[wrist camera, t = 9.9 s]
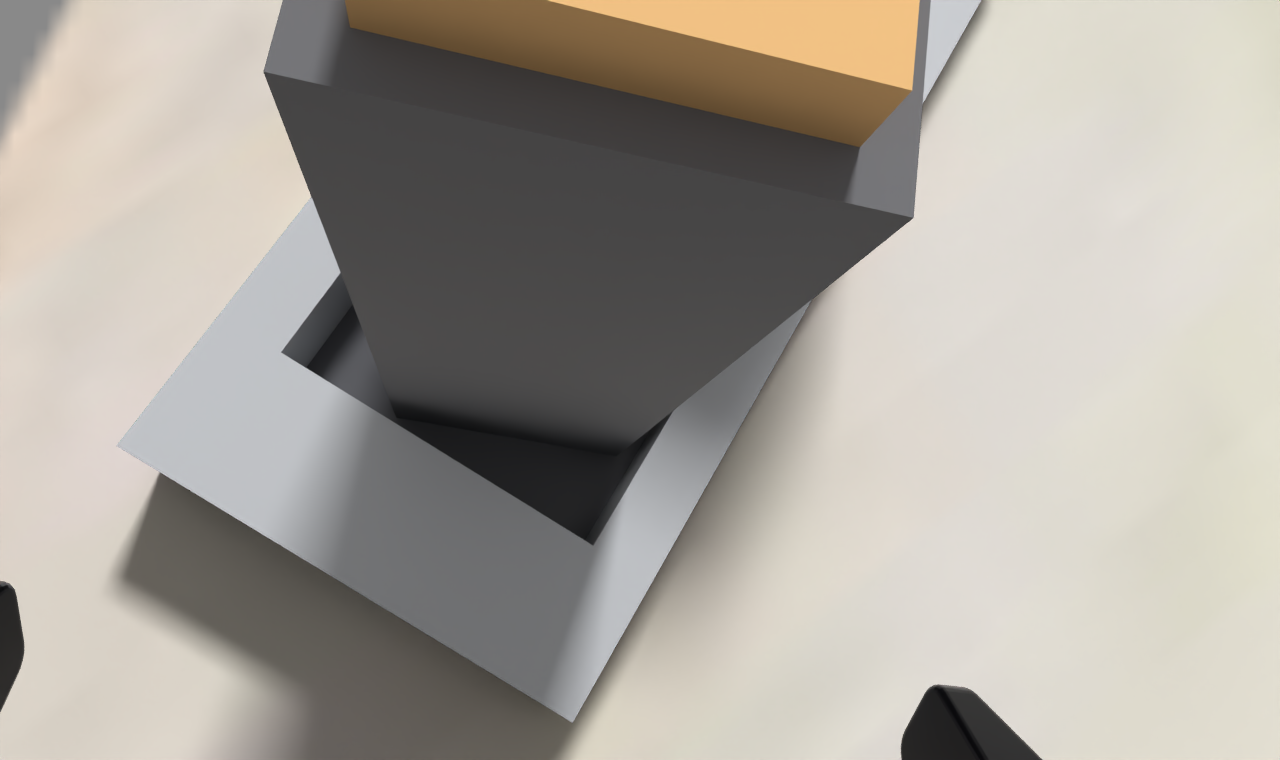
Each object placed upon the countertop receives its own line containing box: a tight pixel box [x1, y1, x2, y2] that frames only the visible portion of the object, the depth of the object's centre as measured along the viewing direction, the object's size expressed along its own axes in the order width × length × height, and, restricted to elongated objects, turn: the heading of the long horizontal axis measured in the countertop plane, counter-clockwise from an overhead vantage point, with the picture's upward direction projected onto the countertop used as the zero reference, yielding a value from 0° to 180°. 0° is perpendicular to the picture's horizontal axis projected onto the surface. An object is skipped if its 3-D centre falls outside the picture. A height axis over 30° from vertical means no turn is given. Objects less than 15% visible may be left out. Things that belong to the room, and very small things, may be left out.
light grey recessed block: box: [117, 0, 981, 723], centre depth 20 cm, size 22×9×2 cm, turn 149°
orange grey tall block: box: [264, 0, 931, 456], centre depth 13 cm, size 4×4×14 cm
